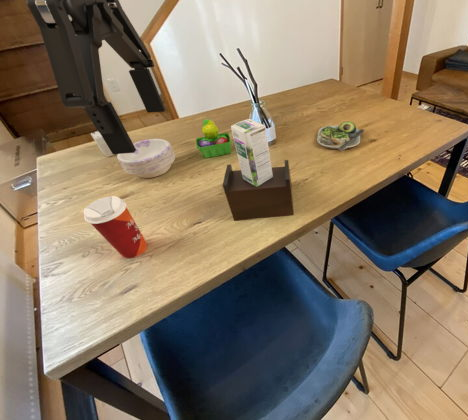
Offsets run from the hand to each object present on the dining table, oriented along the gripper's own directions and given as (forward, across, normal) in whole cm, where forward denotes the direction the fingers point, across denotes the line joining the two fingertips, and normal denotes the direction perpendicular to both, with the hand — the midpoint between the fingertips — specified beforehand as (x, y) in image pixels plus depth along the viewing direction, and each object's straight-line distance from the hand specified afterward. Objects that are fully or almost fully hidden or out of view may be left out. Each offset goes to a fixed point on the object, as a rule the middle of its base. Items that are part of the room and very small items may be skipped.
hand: (142, 129), depth 42 cm
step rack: (+33, +20, -13) cm, 40 cm away
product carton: (+33, +56, +43) cm, 78 cm away
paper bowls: (+33, +41, +24) cm, 58 cm away
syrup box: (+23, +17, -13) cm, 31 cm away
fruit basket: (+33, +50, +5) cm, 60 cm away
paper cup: (+33, +6, +18) cm, 38 cm away
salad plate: (+33, +53, -41) cm, 75 cm away
